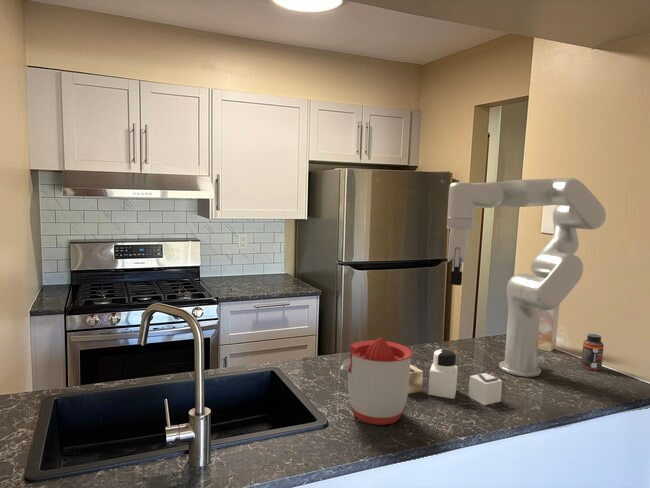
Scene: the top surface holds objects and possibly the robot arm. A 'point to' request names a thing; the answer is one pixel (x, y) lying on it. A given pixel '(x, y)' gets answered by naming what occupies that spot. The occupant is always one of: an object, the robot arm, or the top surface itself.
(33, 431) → the top surface
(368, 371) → the citrus juicer
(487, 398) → the white marked cube
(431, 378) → the medicine bottle
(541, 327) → the coffeecake box
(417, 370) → the maple block one
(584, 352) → the supplement bottle
